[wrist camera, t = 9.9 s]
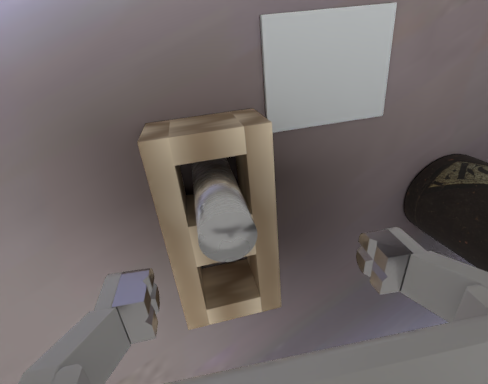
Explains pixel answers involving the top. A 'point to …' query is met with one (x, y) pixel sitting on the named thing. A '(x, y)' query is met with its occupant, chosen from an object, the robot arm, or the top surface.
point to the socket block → (184, 216)
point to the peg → (221, 212)
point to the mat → (326, 64)
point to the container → (453, 206)
